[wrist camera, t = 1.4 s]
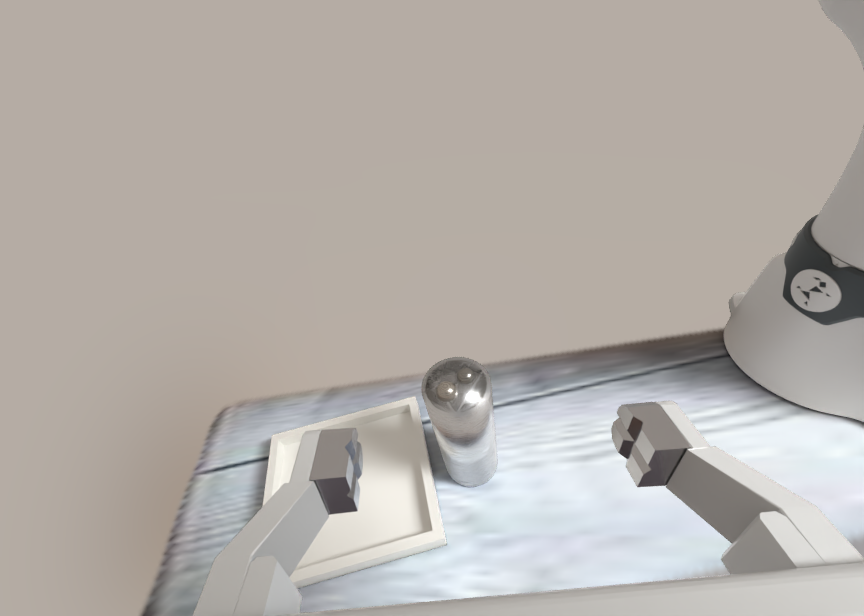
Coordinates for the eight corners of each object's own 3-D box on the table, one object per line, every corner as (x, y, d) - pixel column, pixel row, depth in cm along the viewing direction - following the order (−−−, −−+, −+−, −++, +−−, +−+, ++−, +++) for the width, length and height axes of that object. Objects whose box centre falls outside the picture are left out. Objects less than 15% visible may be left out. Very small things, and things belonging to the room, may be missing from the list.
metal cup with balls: (487, 428, 38) (478, 343, 28) (505, 478, 34) (500, 399, 25) (439, 442, 38) (414, 360, 28) (451, 493, 34) (427, 419, 24)
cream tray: (418, 405, 41) (415, 395, 40) (447, 544, 31) (444, 538, 29) (280, 443, 40) (271, 435, 39) (262, 598, 30) (250, 594, 29)
